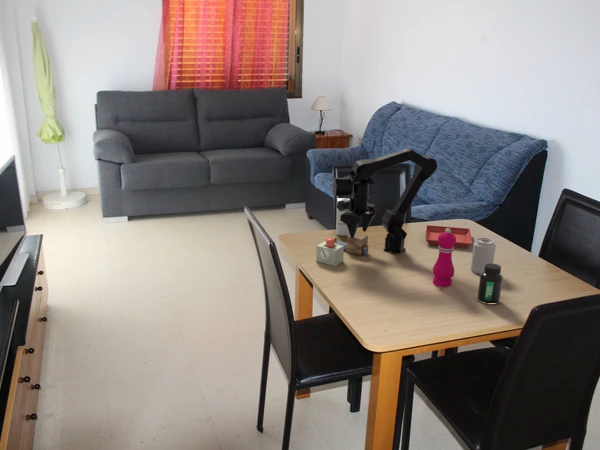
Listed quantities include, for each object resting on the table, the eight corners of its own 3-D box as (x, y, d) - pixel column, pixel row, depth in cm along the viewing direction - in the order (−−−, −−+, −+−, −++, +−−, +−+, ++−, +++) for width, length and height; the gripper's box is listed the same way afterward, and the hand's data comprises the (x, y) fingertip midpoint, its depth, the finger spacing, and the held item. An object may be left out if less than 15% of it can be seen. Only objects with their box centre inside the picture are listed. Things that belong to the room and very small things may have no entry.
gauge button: (336, 249, 218) (336, 239, 217) (331, 251, 216) (331, 241, 215) (328, 247, 220) (329, 237, 219) (324, 249, 218) (324, 239, 216)
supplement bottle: (490, 307, 187) (495, 272, 183) (472, 299, 192) (477, 264, 188) (503, 301, 191) (509, 267, 187) (486, 294, 196) (490, 260, 192)
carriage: (366, 251, 229) (367, 235, 227) (360, 255, 225) (361, 239, 223) (353, 247, 232) (354, 232, 230) (346, 251, 228) (347, 236, 226)
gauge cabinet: (343, 261, 220) (343, 245, 218) (333, 266, 215) (334, 250, 213) (324, 255, 224) (325, 241, 222) (315, 261, 219) (315, 245, 217)
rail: (367, 253, 228) (368, 245, 227) (364, 255, 225) (364, 247, 224) (334, 244, 236) (335, 237, 235) (330, 246, 233) (330, 239, 232)
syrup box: (350, 235, 246) (352, 202, 241) (335, 235, 246) (337, 201, 241) (349, 231, 251) (351, 198, 246) (335, 230, 251) (336, 197, 247)
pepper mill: (440, 289, 198) (447, 233, 192) (426, 281, 204) (432, 226, 198) (457, 285, 202) (464, 230, 195) (443, 277, 208) (449, 223, 201)
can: (493, 269, 216) (497, 238, 212) (490, 277, 209) (494, 245, 205) (472, 265, 219) (476, 235, 215) (468, 273, 212) (472, 241, 208)
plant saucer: (424, 246, 237) (425, 238, 236) (425, 231, 254) (426, 224, 253) (471, 251, 234) (472, 243, 233) (469, 236, 250) (470, 228, 249)
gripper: (354, 186, 233) (352, 223, 238) (328, 196, 218) (327, 236, 223) (379, 191, 227) (377, 229, 232) (354, 202, 212) (352, 243, 217)
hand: (358, 234), depth 226 cm, fingers open, 9 cm apart
